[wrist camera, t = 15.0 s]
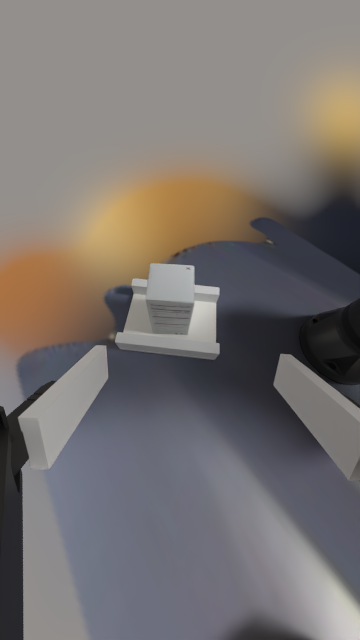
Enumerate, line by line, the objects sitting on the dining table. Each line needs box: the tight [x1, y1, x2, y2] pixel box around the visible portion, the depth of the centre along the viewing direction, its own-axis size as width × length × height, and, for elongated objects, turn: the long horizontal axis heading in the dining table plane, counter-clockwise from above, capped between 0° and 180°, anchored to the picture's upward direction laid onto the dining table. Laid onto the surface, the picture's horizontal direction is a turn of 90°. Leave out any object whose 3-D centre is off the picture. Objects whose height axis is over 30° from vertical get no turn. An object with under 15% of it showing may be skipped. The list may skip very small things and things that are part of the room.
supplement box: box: [145, 264, 195, 335], centre depth 33 cm, size 7×7×13 cm
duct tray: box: [115, 278, 220, 360], centre depth 37 cm, size 19×15×4 cm
